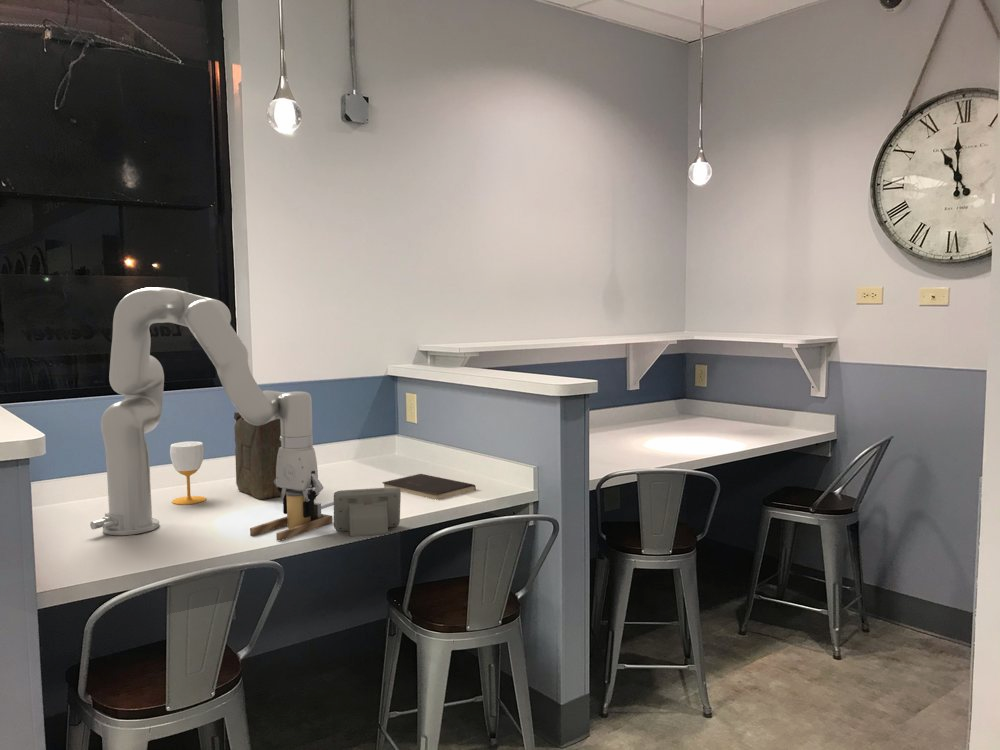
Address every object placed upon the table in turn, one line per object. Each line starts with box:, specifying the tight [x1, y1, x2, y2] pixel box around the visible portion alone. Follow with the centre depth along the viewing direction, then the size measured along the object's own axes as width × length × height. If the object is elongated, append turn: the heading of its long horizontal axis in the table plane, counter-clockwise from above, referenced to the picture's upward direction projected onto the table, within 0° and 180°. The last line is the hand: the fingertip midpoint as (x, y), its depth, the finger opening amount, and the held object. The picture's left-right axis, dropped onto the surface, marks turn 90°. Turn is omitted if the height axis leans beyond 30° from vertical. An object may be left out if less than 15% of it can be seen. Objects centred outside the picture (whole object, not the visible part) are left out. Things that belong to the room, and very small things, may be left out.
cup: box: [169, 441, 207, 506], centre depth 227 cm, size 9×9×16 cm
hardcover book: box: [381, 473, 476, 500], centre depth 240 cm, size 16×23×2 cm
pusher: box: [311, 501, 334, 521], centre depth 208 cm, size 10×7×5 cm
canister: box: [233, 411, 281, 500], centre depth 235 cm, size 19×8×25 cm, turn 41°
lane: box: [249, 513, 333, 541], centre depth 199 cm, size 18×10×2 cm, turn 150°
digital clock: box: [333, 487, 402, 537], centre depth 196 cm, size 16×9×11 cm, turn 93°
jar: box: [286, 489, 311, 529], centre depth 201 cm, size 6×6×9 cm
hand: (298, 513), depth 201 cm, fingers open, 5 cm apart
